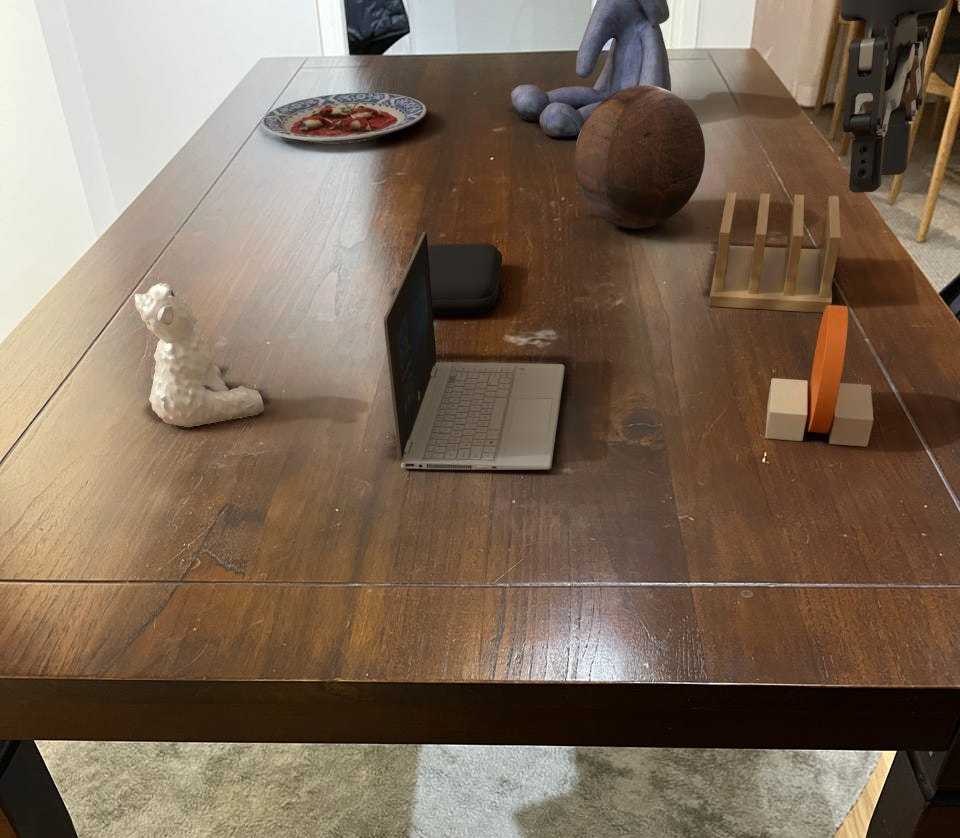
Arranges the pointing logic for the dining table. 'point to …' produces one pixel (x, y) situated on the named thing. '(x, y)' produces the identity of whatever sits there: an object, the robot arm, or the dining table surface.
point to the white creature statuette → (187, 367)
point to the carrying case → (464, 277)
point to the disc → (827, 368)
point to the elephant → (631, 62)
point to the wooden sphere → (639, 156)
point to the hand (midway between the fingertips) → (878, 182)
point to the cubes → (792, 409)
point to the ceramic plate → (344, 117)
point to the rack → (776, 263)
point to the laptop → (462, 393)
